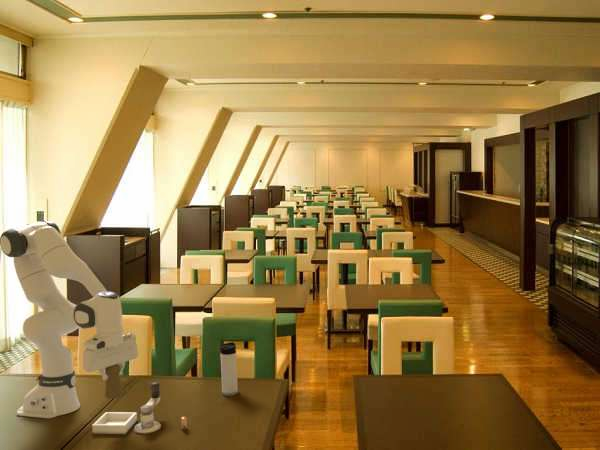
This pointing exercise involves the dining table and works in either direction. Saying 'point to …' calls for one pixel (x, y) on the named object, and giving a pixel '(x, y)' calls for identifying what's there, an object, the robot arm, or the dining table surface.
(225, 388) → the travel mug
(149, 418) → the crank stand
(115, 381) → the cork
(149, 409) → the crank
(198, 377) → the dining table surface
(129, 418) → the tray
